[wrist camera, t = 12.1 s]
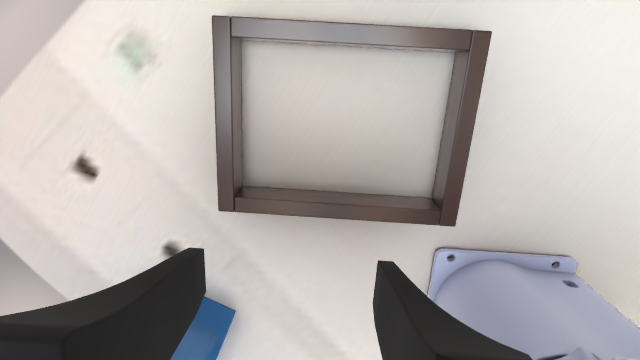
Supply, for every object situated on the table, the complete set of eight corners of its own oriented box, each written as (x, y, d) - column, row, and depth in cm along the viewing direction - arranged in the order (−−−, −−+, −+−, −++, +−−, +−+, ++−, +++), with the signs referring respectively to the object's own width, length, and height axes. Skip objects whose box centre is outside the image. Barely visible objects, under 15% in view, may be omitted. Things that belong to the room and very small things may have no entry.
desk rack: (476, 35, 20) (492, 30, 18) (444, 212, 23) (455, 227, 21) (223, 20, 20) (211, 15, 18) (228, 198, 24) (218, 211, 21)
